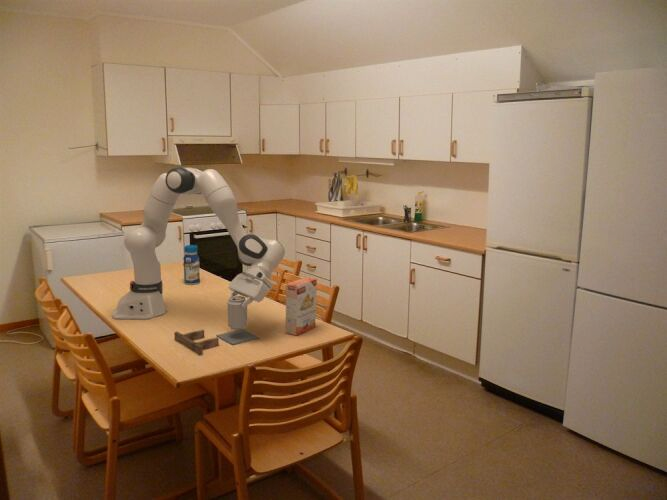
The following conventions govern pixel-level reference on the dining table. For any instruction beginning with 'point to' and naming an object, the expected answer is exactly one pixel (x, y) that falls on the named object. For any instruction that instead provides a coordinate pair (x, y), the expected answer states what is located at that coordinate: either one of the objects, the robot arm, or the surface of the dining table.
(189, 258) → the beverage bottle
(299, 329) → the cracker box
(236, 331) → the slate mat
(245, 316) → the can
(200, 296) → the dining table surface
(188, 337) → the walnut cradle
